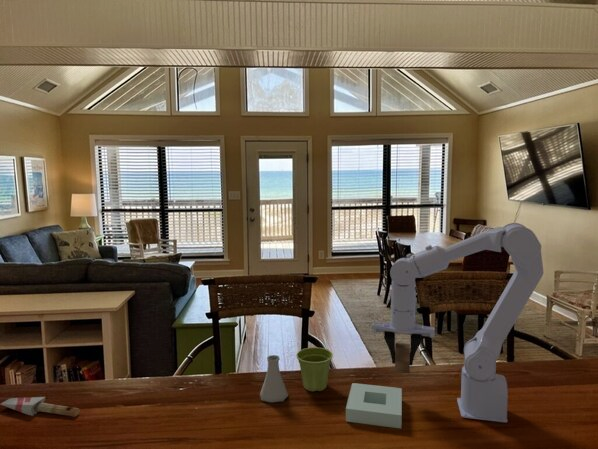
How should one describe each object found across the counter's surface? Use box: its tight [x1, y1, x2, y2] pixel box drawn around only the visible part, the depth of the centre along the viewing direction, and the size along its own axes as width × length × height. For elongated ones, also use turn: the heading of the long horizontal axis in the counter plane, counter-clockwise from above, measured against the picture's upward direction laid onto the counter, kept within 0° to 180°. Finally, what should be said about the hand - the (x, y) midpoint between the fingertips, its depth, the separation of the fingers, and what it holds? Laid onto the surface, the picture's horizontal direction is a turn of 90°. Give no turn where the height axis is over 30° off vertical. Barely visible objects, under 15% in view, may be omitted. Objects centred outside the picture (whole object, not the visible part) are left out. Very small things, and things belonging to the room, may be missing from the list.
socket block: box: [345, 382, 403, 429], centre depth 94 cm, size 12×12×3 cm
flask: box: [259, 354, 289, 404], centre depth 101 cm, size 7×7×10 cm
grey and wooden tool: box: [0, 396, 81, 417], centre depth 96 cm, size 4×3×20 cm
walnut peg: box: [394, 342, 411, 374], centre depth 99 cm, size 3×3×6 cm
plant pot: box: [296, 346, 334, 392], centre depth 106 cm, size 9×9×9 cm
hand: (402, 362), depth 99 cm, fingers closed on walnut peg, 3 cm apart
